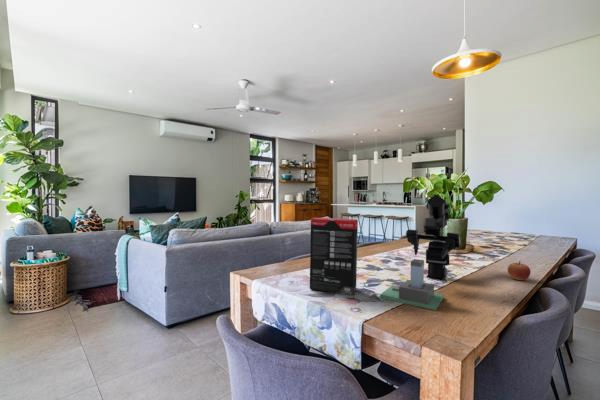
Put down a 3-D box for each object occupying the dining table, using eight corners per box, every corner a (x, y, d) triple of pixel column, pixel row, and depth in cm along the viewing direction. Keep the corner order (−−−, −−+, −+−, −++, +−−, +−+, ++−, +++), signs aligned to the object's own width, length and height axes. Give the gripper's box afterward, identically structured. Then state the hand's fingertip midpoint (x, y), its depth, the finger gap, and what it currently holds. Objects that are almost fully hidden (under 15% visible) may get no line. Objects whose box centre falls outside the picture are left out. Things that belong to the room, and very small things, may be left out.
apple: (520, 276, 128) (520, 258, 128) (535, 282, 120) (535, 263, 120) (502, 276, 128) (503, 258, 128) (516, 282, 120) (517, 263, 120)
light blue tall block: (410, 297, 98) (410, 261, 98) (413, 294, 101) (414, 259, 101) (420, 300, 96) (420, 262, 96) (423, 296, 99) (423, 260, 99)
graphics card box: (357, 290, 109) (358, 218, 108) (354, 296, 102) (355, 219, 102) (314, 285, 115) (314, 216, 114) (308, 290, 108) (309, 218, 107)
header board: (380, 297, 101) (380, 283, 101) (392, 288, 112) (392, 274, 111) (435, 310, 91) (436, 293, 90) (443, 298, 101) (443, 283, 101)
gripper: (407, 209, 116) (398, 240, 108) (460, 211, 105) (454, 246, 97) (412, 227, 123) (404, 257, 114) (462, 230, 112) (457, 264, 103)
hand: (428, 256), depth 107 cm, fingers open, 9 cm apart
